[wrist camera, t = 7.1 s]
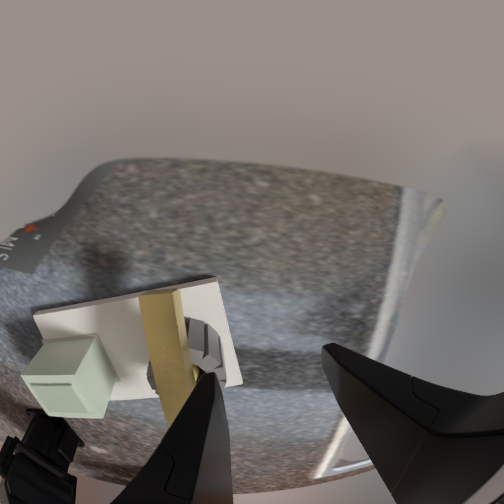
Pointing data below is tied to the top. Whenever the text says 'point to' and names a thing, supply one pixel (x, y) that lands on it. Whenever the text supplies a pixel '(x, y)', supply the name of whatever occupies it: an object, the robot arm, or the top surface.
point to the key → (168, 348)
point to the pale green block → (71, 379)
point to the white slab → (134, 342)
